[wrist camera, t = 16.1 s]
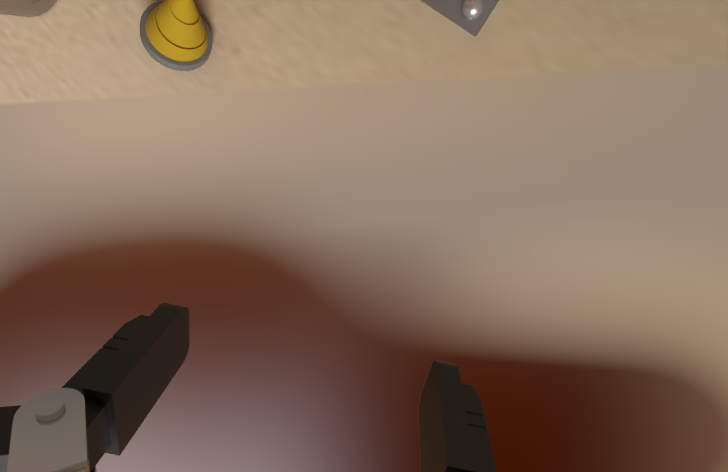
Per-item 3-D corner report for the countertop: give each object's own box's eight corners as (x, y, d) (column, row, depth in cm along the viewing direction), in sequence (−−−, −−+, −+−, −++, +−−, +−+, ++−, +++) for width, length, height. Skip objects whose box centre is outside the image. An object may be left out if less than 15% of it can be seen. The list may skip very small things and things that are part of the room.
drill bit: (149, 15, 35) (153, -71, 26) (212, 43, 38) (234, -27, 29) (131, 68, 34) (130, -3, 25) (197, 94, 36) (216, 37, 28)
